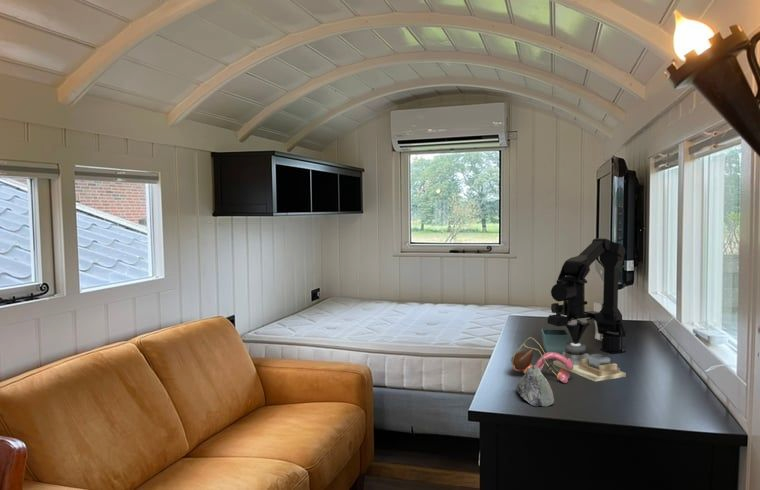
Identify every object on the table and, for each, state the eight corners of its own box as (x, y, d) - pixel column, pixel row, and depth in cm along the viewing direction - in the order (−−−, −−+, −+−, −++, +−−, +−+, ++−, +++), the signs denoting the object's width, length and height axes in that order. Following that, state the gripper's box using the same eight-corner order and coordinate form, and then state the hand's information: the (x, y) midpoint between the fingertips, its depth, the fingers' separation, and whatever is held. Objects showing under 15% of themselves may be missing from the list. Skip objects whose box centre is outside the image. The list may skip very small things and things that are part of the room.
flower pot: (569, 360, 187) (569, 334, 186) (543, 359, 188) (543, 334, 188) (566, 353, 195) (566, 329, 195) (541, 352, 197) (541, 328, 196)
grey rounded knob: (576, 356, 184) (576, 340, 184) (589, 360, 178) (589, 344, 178) (561, 358, 182) (561, 342, 182) (574, 363, 176) (574, 346, 176)
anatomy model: (578, 376, 157) (539, 331, 161) (539, 405, 163) (502, 361, 167) (582, 365, 167) (545, 324, 171) (545, 393, 173) (510, 352, 177)
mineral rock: (518, 389, 158) (517, 356, 157) (556, 393, 154) (556, 359, 153) (512, 405, 146) (511, 368, 145) (553, 409, 142) (553, 372, 141)
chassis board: (581, 360, 186) (581, 348, 186) (625, 376, 167) (626, 363, 167) (553, 364, 182) (553, 352, 182) (594, 381, 163) (594, 368, 163)
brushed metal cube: (598, 367, 173) (598, 353, 172) (610, 372, 168) (610, 356, 168) (588, 369, 171) (588, 354, 171) (599, 373, 167) (599, 358, 166)
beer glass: (597, 336, 220) (597, 300, 219) (615, 338, 215) (615, 301, 214) (590, 339, 215) (590, 302, 214) (607, 341, 210) (607, 304, 209)
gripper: (581, 292, 189) (581, 335, 190) (537, 296, 183) (537, 341, 184) (604, 296, 179) (604, 342, 180) (558, 301, 173) (558, 348, 174)
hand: (575, 343), depth 180 cm, fingers closed, pressing on grey rounded knob
